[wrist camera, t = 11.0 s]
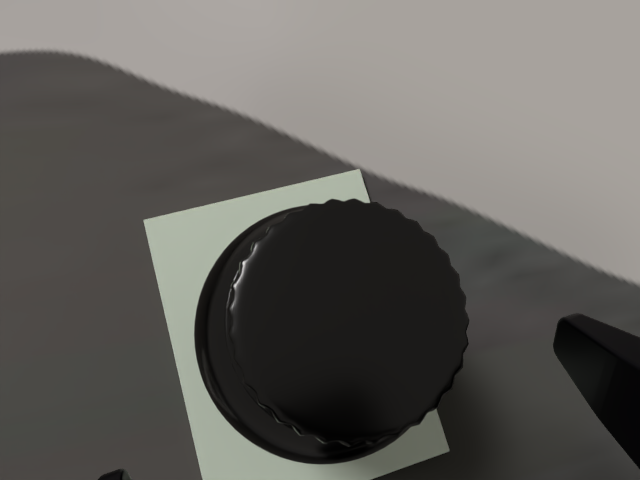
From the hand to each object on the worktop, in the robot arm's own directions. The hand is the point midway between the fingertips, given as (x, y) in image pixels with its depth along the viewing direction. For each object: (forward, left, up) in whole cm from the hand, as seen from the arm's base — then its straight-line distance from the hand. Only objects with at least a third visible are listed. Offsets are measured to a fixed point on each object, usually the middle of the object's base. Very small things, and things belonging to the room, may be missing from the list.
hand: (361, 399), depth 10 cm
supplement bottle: (+1, -1, -12) cm, 12 cm away
